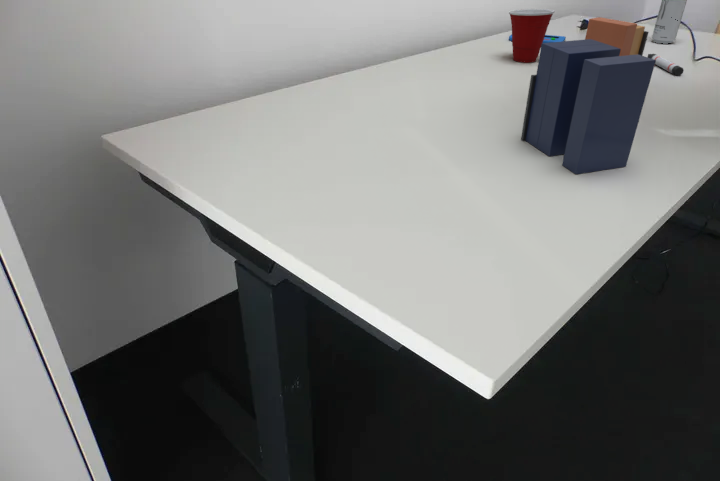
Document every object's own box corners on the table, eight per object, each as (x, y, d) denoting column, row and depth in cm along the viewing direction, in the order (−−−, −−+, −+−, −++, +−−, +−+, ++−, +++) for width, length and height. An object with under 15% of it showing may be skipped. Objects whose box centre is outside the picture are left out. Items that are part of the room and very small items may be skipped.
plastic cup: (528, 52, 143) (535, 4, 137) (555, 62, 135) (564, 11, 128) (493, 57, 140) (499, 7, 133) (519, 67, 131) (527, 14, 125)
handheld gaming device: (513, 31, 160) (566, 35, 155) (513, 35, 161) (565, 39, 155) (507, 36, 154) (562, 41, 149) (507, 40, 155) (561, 45, 149)
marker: (682, 76, 124) (684, 67, 123) (673, 76, 124) (676, 67, 123) (650, 59, 137) (652, 51, 135) (642, 59, 137) (645, 51, 135)
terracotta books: (613, 90, 115) (629, 26, 108) (574, 79, 122) (587, 18, 115) (634, 84, 119) (651, 21, 112) (595, 74, 126) (608, 14, 119)
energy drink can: (647, 39, 155) (662, -18, 147) (668, 39, 155) (684, -18, 147) (656, 44, 150) (673, -15, 142) (678, 44, 150) (696, -15, 142)
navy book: (626, 166, 83) (656, 60, 74) (575, 174, 80) (600, 65, 72) (610, 157, 86) (638, 54, 77) (561, 165, 83) (584, 59, 75)
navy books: (599, 149, 88) (624, 48, 80) (546, 156, 86) (566, 53, 77) (570, 132, 95) (590, 37, 86) (520, 139, 92) (536, 42, 84)
